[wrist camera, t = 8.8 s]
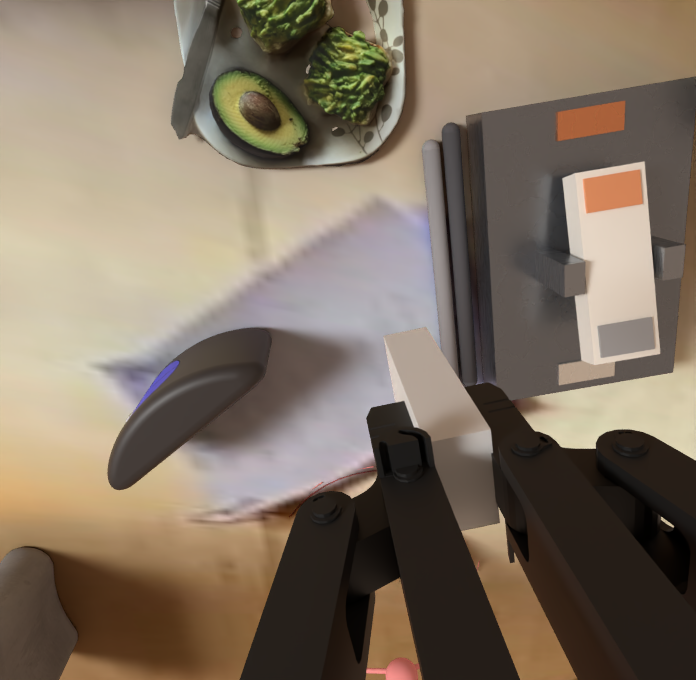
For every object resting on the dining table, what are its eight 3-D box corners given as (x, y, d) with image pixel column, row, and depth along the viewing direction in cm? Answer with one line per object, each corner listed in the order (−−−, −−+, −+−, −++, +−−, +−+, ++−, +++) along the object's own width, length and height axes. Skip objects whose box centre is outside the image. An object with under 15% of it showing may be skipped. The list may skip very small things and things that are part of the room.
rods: (418, 128, 40) (421, 127, 39) (689, 82, 41) (702, 79, 39) (444, 396, 49) (448, 403, 48) (667, 357, 49) (677, 363, 48)
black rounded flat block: (242, 299, 45) (225, 336, 36) (277, 336, 46) (269, 380, 37) (115, 407, 48) (70, 466, 39) (152, 439, 49) (117, 503, 40)
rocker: (562, 178, 38) (576, 172, 36) (628, 167, 38) (646, 160, 36) (581, 360, 40) (595, 365, 38) (644, 349, 40) (662, 354, 38)
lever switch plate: (465, 115, 40) (507, 107, 32) (663, 82, 40) (757, 65, 32) (483, 383, 49) (519, 433, 41) (645, 355, 49) (716, 399, 41)
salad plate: (139, -133, 34) (114, -173, 30) (403, -136, 35) (417, -176, 30) (183, 172, 41) (168, 175, 37) (403, 162, 42) (413, 165, 37)
